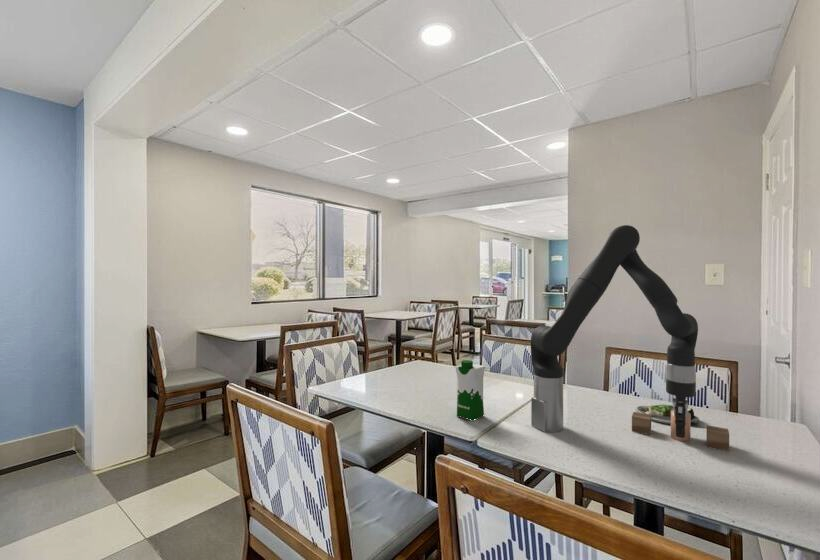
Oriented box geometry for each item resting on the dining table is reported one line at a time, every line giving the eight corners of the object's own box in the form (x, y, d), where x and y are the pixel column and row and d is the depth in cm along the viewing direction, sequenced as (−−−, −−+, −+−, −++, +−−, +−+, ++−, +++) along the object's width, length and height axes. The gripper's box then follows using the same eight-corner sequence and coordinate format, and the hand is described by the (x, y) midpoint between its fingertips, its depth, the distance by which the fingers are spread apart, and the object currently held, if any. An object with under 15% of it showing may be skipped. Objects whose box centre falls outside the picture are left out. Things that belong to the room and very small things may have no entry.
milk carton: (453, 416, 138) (452, 360, 138) (467, 410, 145) (467, 356, 145) (473, 423, 132) (473, 364, 132) (488, 415, 139) (487, 360, 139)
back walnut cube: (650, 435, 122) (650, 419, 122) (631, 431, 125) (631, 416, 125) (651, 430, 126) (651, 414, 126) (633, 426, 129) (633, 411, 129)
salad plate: (651, 428, 128) (651, 414, 128) (622, 409, 146) (622, 397, 146) (710, 428, 128) (710, 414, 128) (674, 409, 146) (674, 397, 146)
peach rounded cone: (684, 442, 116) (684, 416, 116) (667, 436, 121) (667, 411, 121) (694, 439, 118) (694, 413, 118) (677, 433, 123) (677, 408, 123)
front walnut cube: (729, 452, 110) (729, 434, 110) (707, 447, 113) (707, 430, 113) (727, 445, 114) (727, 428, 114) (706, 441, 117) (706, 425, 117)
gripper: (696, 386, 111) (696, 445, 111) (695, 375, 123) (695, 429, 123) (664, 382, 116) (664, 439, 116) (667, 372, 127) (666, 424, 127)
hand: (680, 433), depth 119 cm, fingers closed on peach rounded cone, 5 cm apart
